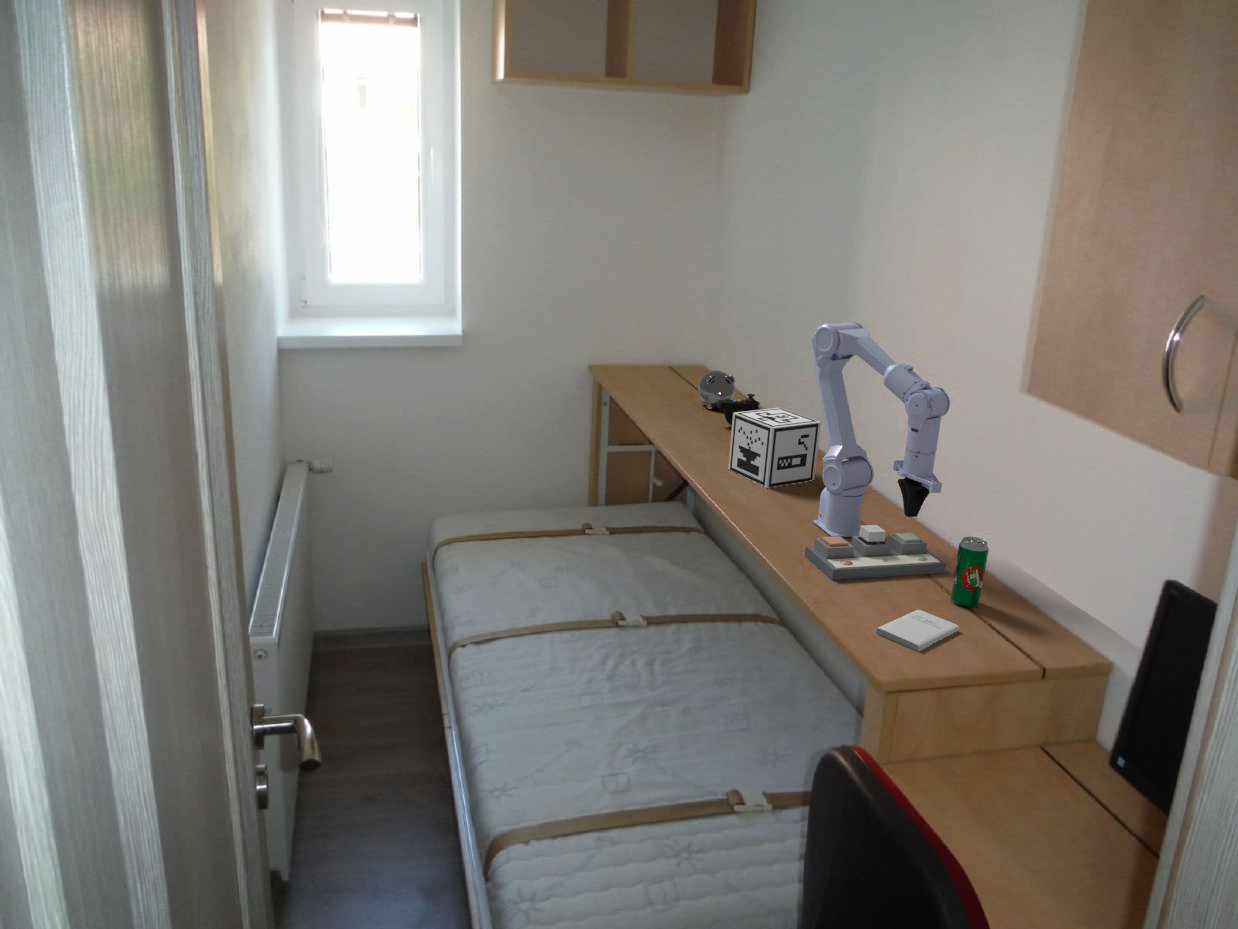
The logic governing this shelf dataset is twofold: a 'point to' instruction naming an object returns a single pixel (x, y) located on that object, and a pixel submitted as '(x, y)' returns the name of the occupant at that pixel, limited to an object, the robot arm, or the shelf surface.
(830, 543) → the terracotta button
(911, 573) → the button board
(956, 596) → the soda can
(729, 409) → the controller
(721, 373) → the piggy bank
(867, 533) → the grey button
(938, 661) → the shelf surface
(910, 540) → the sage button
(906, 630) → the external hard drive
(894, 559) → the pattern card
